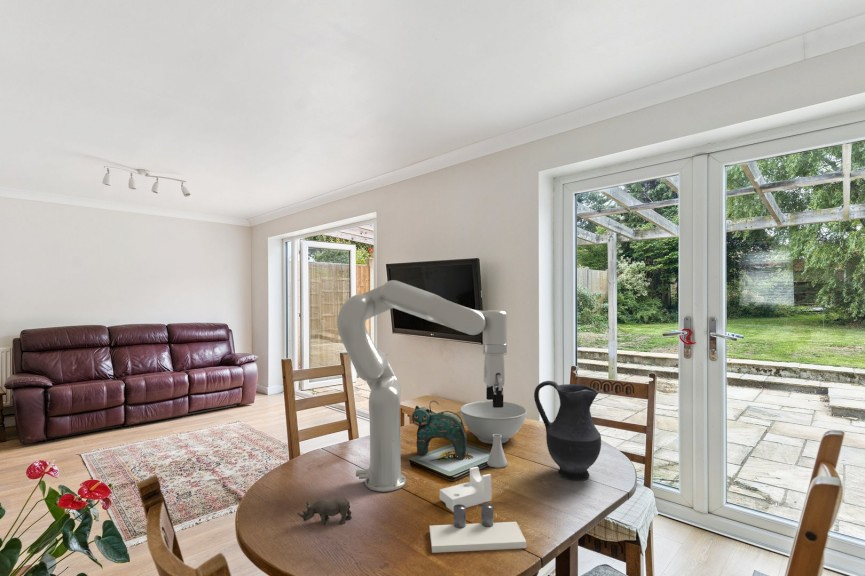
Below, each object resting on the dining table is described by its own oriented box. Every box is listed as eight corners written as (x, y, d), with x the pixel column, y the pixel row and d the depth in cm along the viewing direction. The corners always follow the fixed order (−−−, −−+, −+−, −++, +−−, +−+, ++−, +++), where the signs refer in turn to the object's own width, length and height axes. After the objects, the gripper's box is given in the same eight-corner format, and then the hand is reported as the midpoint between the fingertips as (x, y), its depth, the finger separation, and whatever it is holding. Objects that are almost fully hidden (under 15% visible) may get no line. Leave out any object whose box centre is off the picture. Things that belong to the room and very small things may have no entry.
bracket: (477, 491, 134) (476, 466, 134) (491, 501, 128) (491, 474, 128) (439, 502, 127) (439, 475, 128) (452, 512, 121) (452, 484, 121)
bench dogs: (454, 534, 110) (454, 510, 110) (453, 528, 113) (452, 504, 113) (494, 533, 110) (494, 508, 110) (492, 526, 113) (492, 502, 113)
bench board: (432, 552, 102) (432, 546, 102) (429, 531, 111) (429, 525, 111) (526, 548, 104) (526, 541, 104) (516, 527, 113) (516, 521, 113)
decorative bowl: (536, 435, 184) (536, 405, 184) (512, 455, 162) (511, 422, 162) (478, 425, 199) (478, 397, 199) (448, 442, 176) (447, 412, 176)
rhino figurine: (299, 520, 118) (298, 497, 118) (352, 516, 119) (351, 493, 119) (296, 528, 114) (296, 504, 114) (351, 524, 115) (351, 500, 115)
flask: (507, 469, 150) (507, 439, 150) (485, 467, 151) (485, 438, 151) (508, 461, 157) (508, 432, 157) (487, 459, 158) (487, 431, 158)
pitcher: (602, 489, 134) (601, 389, 134) (532, 480, 141) (531, 385, 141) (600, 467, 150) (599, 378, 150) (537, 460, 157) (536, 375, 157)
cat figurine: (411, 455, 163) (411, 400, 163) (417, 449, 169) (417, 396, 169) (464, 461, 156) (463, 404, 157) (468, 455, 163) (468, 400, 163)
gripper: (478, 345, 149) (478, 397, 149) (488, 353, 132) (488, 410, 132) (500, 345, 150) (500, 396, 150) (513, 352, 133) (513, 410, 133)
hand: (494, 403), depth 141 cm, fingers open, 9 cm apart
